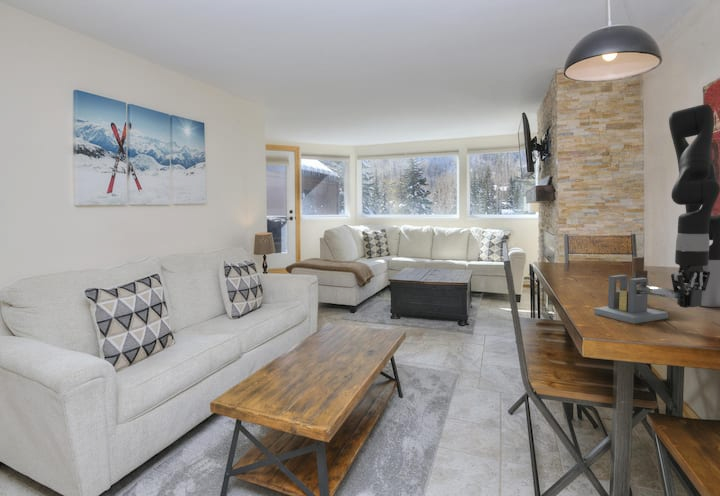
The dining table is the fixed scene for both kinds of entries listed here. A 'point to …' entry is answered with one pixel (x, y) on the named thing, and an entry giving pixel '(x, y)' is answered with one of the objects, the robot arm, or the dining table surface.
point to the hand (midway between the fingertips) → (689, 305)
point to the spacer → (624, 300)
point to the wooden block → (638, 268)
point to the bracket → (629, 302)
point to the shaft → (672, 294)
